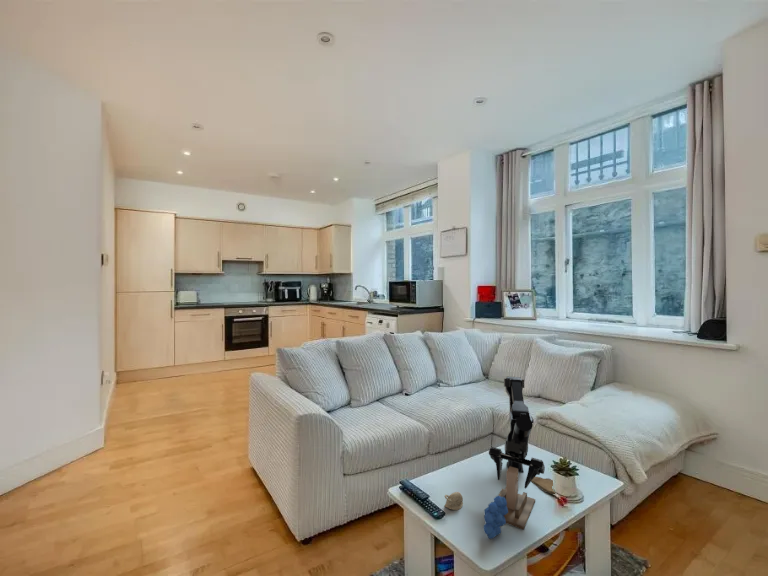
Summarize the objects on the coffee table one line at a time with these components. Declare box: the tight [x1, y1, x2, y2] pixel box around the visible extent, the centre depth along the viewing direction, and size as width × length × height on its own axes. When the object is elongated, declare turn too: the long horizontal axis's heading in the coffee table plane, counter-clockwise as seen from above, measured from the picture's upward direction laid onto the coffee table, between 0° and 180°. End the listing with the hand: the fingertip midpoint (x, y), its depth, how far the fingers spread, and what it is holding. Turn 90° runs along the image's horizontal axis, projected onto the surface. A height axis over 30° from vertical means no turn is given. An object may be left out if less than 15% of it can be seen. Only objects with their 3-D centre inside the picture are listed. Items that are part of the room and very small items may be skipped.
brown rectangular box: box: [505, 466, 519, 510], centre depth 130 cm, size 3×4×13 cm
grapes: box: [483, 495, 508, 540], centre depth 117 cm, size 12×7×12 cm, turn 131°
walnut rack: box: [497, 487, 536, 530], centre depth 130 cm, size 18×12×4 cm, turn 146°
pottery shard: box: [530, 476, 555, 495], centre depth 143 cm, size 8×3×15 cm
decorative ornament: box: [444, 491, 464, 511], centre depth 131 cm, size 4×8×5 cm, turn 116°
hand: (511, 483), depth 129 cm, fingers open, 9 cm apart
